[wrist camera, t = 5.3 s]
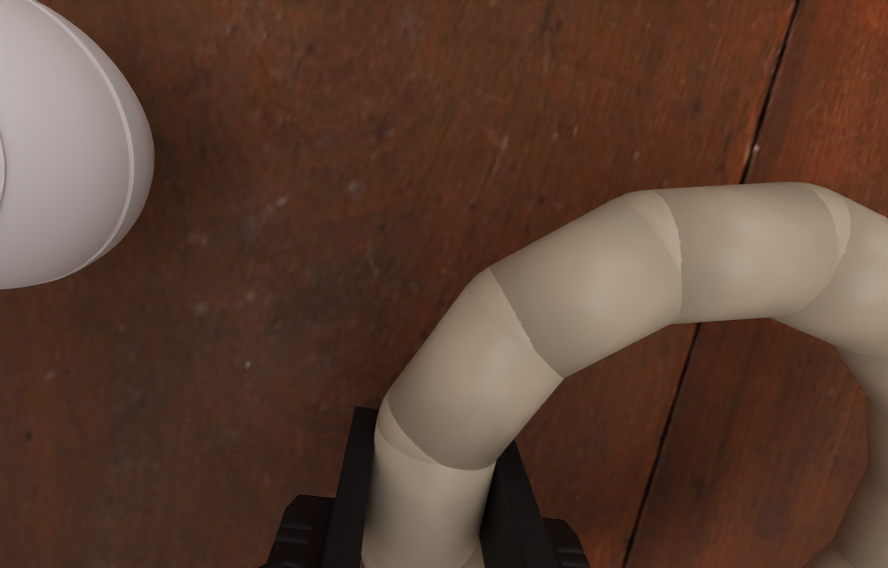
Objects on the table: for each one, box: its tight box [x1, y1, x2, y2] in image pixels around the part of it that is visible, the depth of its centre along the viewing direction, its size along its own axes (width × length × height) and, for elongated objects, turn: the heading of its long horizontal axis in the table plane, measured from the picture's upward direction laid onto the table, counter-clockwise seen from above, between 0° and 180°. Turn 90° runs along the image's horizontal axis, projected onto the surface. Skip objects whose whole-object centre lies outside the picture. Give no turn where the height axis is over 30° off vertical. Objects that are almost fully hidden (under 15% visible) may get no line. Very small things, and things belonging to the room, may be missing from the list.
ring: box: [361, 182, 888, 568], centre depth 15 cm, size 20×21×4 cm
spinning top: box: [0, 0, 154, 289], centre depth 14 cm, size 8×8×12 cm
